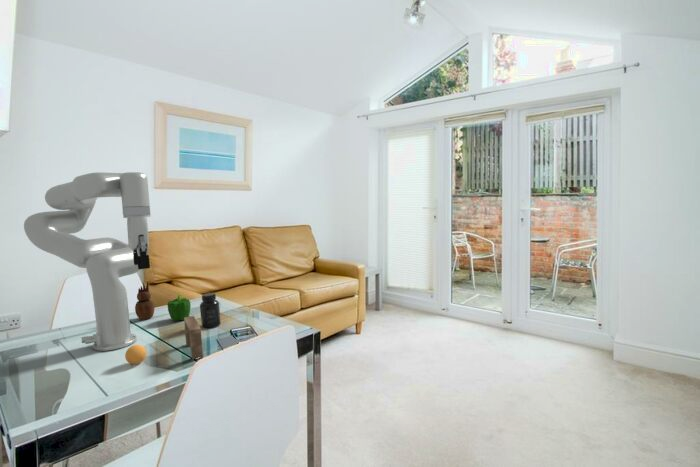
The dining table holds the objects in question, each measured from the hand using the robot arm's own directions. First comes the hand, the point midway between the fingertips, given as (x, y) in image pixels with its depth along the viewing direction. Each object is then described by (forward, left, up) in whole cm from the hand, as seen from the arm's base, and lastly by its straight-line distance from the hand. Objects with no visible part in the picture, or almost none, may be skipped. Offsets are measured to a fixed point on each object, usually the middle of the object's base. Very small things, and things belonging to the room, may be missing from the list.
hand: (141, 266), depth 123 cm
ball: (-4, -11, -24) cm, 27 cm away
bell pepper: (+12, +26, -27) cm, 40 cm away
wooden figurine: (0, +36, -27) cm, 46 cm away
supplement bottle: (+21, +11, -27) cm, 36 cm away
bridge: (+12, -11, -27) cm, 31 cm away
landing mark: (+26, -11, -27) cm, 39 cm away
